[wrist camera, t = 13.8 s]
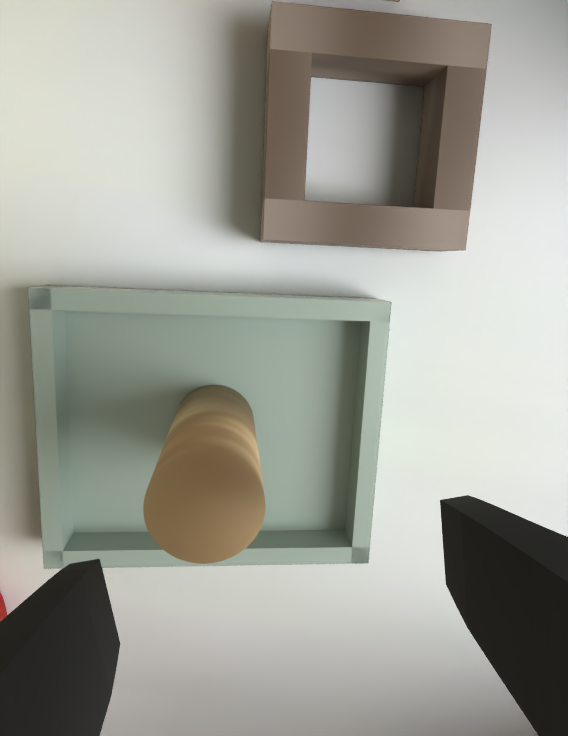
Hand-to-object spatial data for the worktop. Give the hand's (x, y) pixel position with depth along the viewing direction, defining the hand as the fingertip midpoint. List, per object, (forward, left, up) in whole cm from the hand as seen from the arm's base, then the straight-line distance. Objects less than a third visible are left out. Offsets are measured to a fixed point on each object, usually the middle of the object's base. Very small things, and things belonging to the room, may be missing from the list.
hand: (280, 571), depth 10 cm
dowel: (+2, 0, -9) cm, 9 cm away
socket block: (-3, -10, -10) cm, 15 cm away
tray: (+2, 0, -10) cm, 10 cm away
